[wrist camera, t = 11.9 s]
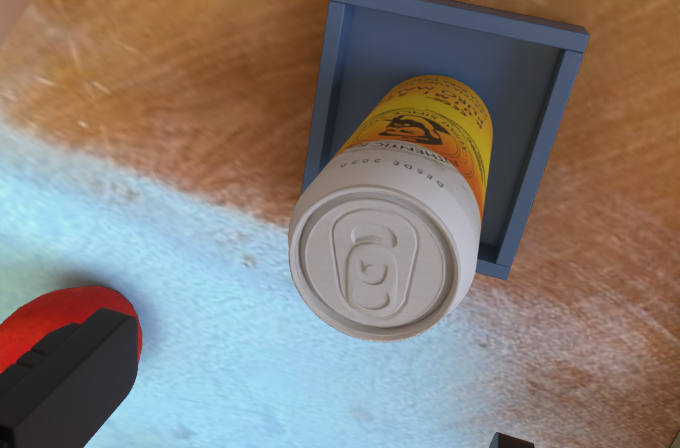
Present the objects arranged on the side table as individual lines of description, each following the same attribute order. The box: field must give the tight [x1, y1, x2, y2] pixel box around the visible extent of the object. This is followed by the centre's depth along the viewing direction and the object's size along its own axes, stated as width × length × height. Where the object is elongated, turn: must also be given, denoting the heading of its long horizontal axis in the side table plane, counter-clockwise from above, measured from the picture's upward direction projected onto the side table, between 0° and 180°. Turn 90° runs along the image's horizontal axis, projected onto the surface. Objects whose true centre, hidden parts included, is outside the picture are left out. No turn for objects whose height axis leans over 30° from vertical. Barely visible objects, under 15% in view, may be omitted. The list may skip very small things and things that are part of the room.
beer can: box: [288, 75, 493, 342], centre depth 25 cm, size 6×6×15 cm
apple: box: [0, 286, 142, 374], centre depth 40 cm, size 9×9×8 cm
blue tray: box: [301, 0, 590, 280], centre depth 31 cm, size 13×12×3 cm
